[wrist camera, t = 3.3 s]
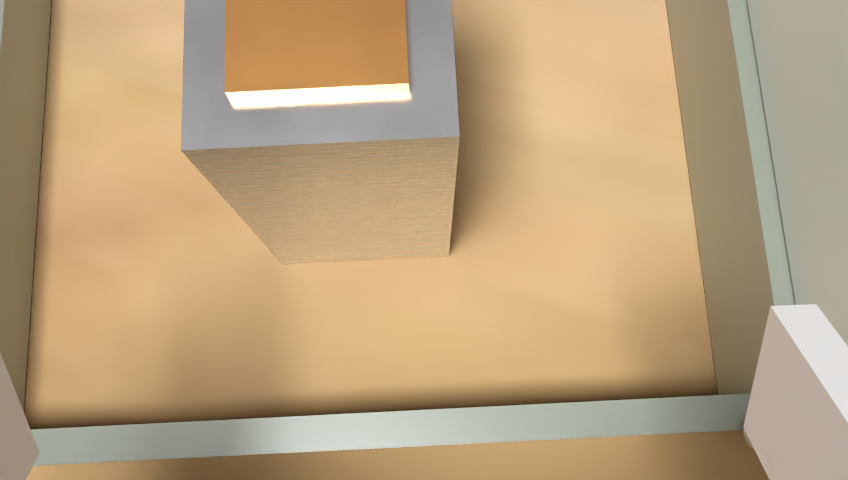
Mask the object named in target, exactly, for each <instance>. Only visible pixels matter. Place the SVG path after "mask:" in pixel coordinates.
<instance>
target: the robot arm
mask: <svg viewBox="0 0 848 480" xmlns="http://www.w3.org/2000/svg"><path fill="white" fill-rule="evenodd" d="M743 428H744V430H745V432H746V434H747V436H748V438H749V440H750V442H751V444H752V446H753V448H754V450H755V452H756V454H757V456H758V458H759V460H760V462H761V464H762V466H763V468H764V470H765V472H766V474H767V476H768V478H769V480H848V346H847V345H846V343H845V342H844V341H843V339H842V338H841V337H840V335H839V334H838V333H837V331H836V330H835V329H834V327H833V326H832V325H831V323H830V322H829V321H828V319H827V318H826V317H825V315H824V314H823V313H822V311H821V310H820V309H819V307H818V306H817V305H816V304H808V305H781V306H770V310H769V315H768V319H767V324H766V328H765V333H764V337H763V341H762V346H761V350H760V355H759V359H758V364H757V368H756V373H755V377H754V381H753V386H752V390H751V395H750V399H749V404H748V408H747V413H746V417H745V421H744V426H743ZM39 454H40V452H39V450H38V447H37V445H36V442H35V440H34V437H33V435H32V432H31V429H30V427H29V424H28V422H27V419H26V417H25V414H24V412H23V409H22V407H21V404H20V401H19V399H18V396H17V394H16V391H15V389H14V386H13V384H12V381H11V378H10V376H9V373H8V371H7V368H6V366H5V363H4V361H3V358H2V356H1V353H0V480H26V478H27V476H28V474H29V472H30V470H31V468H32V467H33V465H34V463H35V461H36V459H37V457H38V456H39Z"/></svg>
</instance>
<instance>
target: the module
mask: <svg viewBox="0 0 848 480" xmlns="http://www.w3.org/2000/svg"><path fill="white" fill-rule="evenodd" d="M459 140H460V132H459V116H458V100H457V84H456V68H455V53H454V37H453V21H452V5H451V0H185V11H184V54H183V96H182V138H181V151H182V152H183V153H184V154H185V155H186V156H187V157H188V159H189V160H190V161H191V162H192V163H193V164H194V165H195V166H196V167H197V169H198V170H199V171H200V172H201V173H202V174H203V175H204V176H205V178H206V179H207V180H208V181H209V182H210V183H211V184H212V185H213V187H214V188H215V189H216V190H217V191H218V192H219V193H220V194H221V196H222V197H223V198H224V199H225V200H226V201H227V202H228V203H229V205H230V206H231V207H232V208H233V209H234V210H235V211H236V212H237V214H238V215H239V216H240V217H241V218H242V219H243V220H244V221H245V223H246V224H247V225H248V226H249V227H250V228H251V229H252V230H253V232H254V233H255V234H256V235H257V236H258V237H259V238H260V239H261V241H262V242H263V243H264V244H265V245H266V246H267V247H268V248H269V250H270V251H271V252H272V253H273V254H274V255H275V256H276V257H277V259H278V260H279V261H280V262H281V263H282V264H283V265H284V264H304V263H324V262H344V261H364V260H384V259H403V258H423V257H443V256H449V249H450V238H451V227H452V216H453V205H454V195H455V184H456V173H457V162H458V151H459Z"/></svg>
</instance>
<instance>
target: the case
mask: <svg viewBox="0 0 848 480" xmlns="http://www.w3.org/2000/svg"><path fill="white" fill-rule="evenodd" d="M51 1H52V0H0V353H1V356H2V358H3V361H4V363H5V366H6V368H7V371H8V373H9V376H10V378H11V381H12V384H13V386H14V389H15V391H16V394H17V396H18V399H19V401H20V404H21V407H22V409H23V412H24V400H25V385H26V370H27V355H28V341H29V326H30V311H31V296H32V282H33V267H34V252H35V237H36V222H37V208H38V193H39V178H40V163H41V148H42V134H43V119H44V104H45V89H46V75H47V60H48V45H49V30H50V15H51ZM666 6H667V13H668V21H669V28H670V36H671V43H672V51H673V58H674V66H675V73H676V81H677V88H678V96H679V103H680V111H681V118H682V126H683V133H684V141H685V148H686V156H687V163H688V171H689V178H690V186H691V193H692V201H693V208H694V216H695V223H696V231H697V238H698V246H699V253H700V261H701V268H702V276H703V283H704V291H705V298H706V306H707V313H708V321H709V328H710V336H711V343H712V351H713V358H714V366H715V373H716V381H717V388H718V395H709V396H689V397H669V398H649V399H629V400H609V401H589V402H569V403H549V404H529V405H509V406H490V407H470V408H450V409H430V410H410V411H390V412H370V413H350V414H330V415H310V416H290V417H271V418H251V419H231V420H211V421H191V422H171V423H151V424H131V425H111V426H91V427H71V428H52V429H32V430H31V432H32V435H33V437H34V440H35V442H36V445H37V447H38V450H39V452H40V454H39V456H38V457H37V459H36V461H35V463H34V465H33V466H37V465H57V464H77V463H97V462H117V461H136V460H156V459H176V458H196V457H216V456H236V455H256V454H276V453H296V452H315V451H335V450H355V449H375V448H395V447H415V446H435V445H455V444H474V443H494V442H514V441H534V440H554V439H574V438H594V437H614V436H633V435H653V434H673V433H693V432H713V431H733V430H743V432H744V438H745V440H746V442H747V444H748V445H749V446H751V447H752V448H753V446H752V444H751V442H750V440H749V438H748V436H747V434H746V432H745V430H744V428H743V426H744V421H745V417H746V413H747V408H748V404H749V399H750V395H751V390H752V386H753V381H754V377H755V373H756V368H757V364H758V359H759V355H760V350H761V346H762V341H763V337H764V333H765V328H766V324H767V319H768V315H769V310H770V306H781V305H808V304H816V305H817V306H818V307H819V309H820V310H821V311H822V313H823V314H824V315H825V317H826V318H827V319H828V321H829V322H830V323H831V325H832V326H833V327H834V329H835V330H836V331H837V333H838V334H839V335H840V337H841V338H842V339H843V341H844V342H845V343H846V345H847V346H848V0H666Z"/></svg>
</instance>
